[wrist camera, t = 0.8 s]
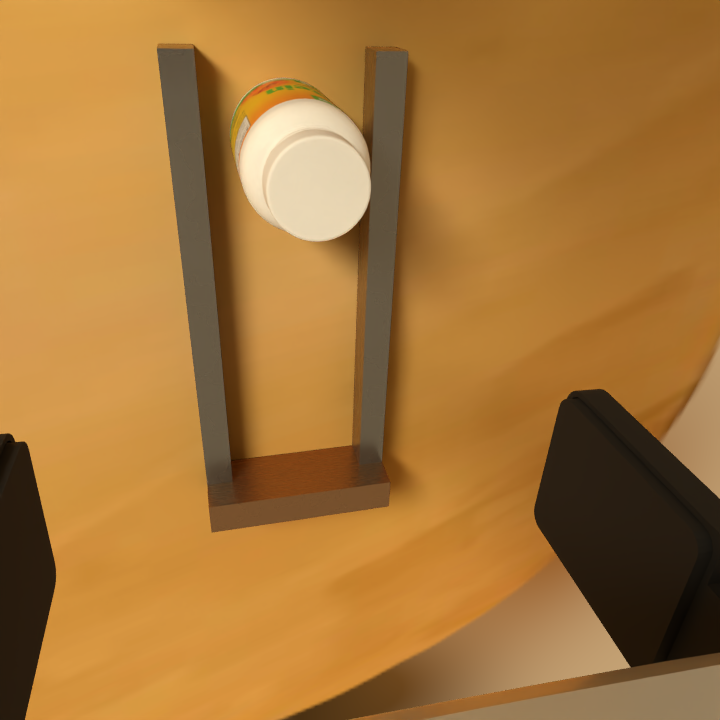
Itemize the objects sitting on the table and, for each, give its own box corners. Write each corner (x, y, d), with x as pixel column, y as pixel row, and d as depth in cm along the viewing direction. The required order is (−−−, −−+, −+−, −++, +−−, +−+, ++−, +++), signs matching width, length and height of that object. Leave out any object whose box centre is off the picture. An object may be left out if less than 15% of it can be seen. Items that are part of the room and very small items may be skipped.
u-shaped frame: (157, 43, 29) (155, 53, 25) (395, 47, 31) (422, 56, 28) (209, 487, 42) (211, 532, 39) (372, 465, 44) (388, 506, 41)
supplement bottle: (347, 89, 31) (406, 130, 23) (325, 196, 34) (371, 267, 26) (236, 64, 30) (258, 99, 22) (221, 179, 32) (237, 249, 24)
